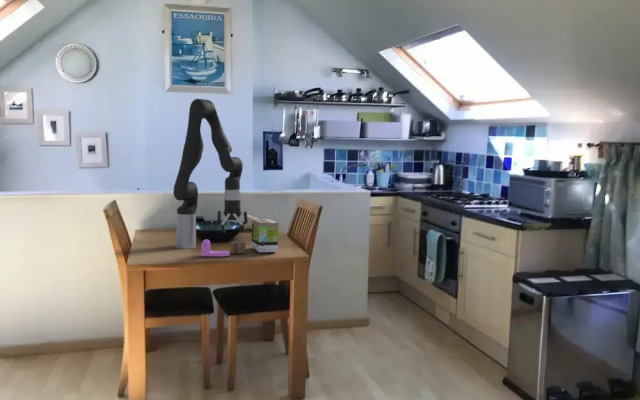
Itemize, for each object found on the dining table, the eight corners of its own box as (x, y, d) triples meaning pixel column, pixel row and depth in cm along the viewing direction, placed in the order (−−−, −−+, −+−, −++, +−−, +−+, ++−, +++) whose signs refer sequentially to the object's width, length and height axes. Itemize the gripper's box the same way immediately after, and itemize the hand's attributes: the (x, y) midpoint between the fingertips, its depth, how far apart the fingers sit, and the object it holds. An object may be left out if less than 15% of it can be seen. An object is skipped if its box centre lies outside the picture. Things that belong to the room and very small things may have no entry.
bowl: (270, 233, 320) (270, 216, 319) (246, 233, 318) (246, 216, 317) (268, 229, 335) (269, 213, 334) (246, 229, 333) (246, 213, 332)
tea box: (278, 251, 265) (278, 222, 263) (258, 253, 261) (258, 222, 260) (269, 246, 279) (270, 218, 277) (250, 247, 275) (251, 218, 274)
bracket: (201, 256, 251) (201, 241, 251) (202, 253, 257) (202, 239, 256) (229, 256, 253) (229, 241, 252) (229, 253, 258) (230, 239, 258)
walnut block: (236, 250, 265) (230, 252, 261) (237, 240, 265) (230, 242, 261) (245, 251, 263) (239, 253, 259) (245, 241, 263) (239, 243, 258)
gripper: (215, 199, 254) (216, 233, 255) (245, 199, 253) (246, 234, 254) (219, 198, 261) (219, 231, 262) (248, 198, 260) (248, 231, 262)
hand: (232, 232), depth 258 cm, fingers open, 8 cm apart
